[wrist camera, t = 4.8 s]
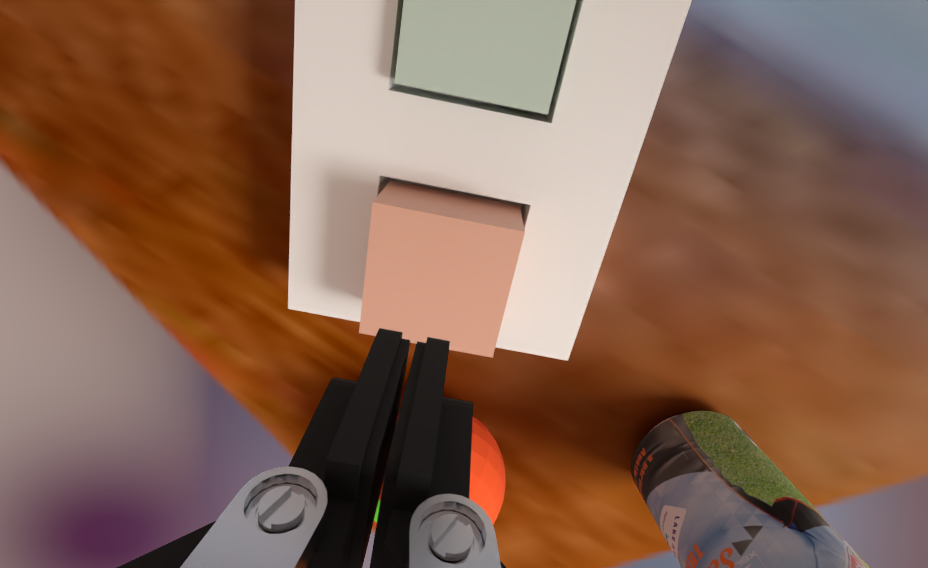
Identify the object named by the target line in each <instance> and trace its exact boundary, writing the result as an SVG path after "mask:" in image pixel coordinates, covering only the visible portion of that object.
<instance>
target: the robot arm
mask: <svg viewBox="0 0 928 568" xmlns="http://www.w3.org/2000/svg"><path fill="white" fill-rule="evenodd" d="M449 344H450V341H447V340H442V339H436V338H431V337H427V341H426V343H424V342H419V341H417V344H416V348H415V352H414V356H413V360H412V364H411V368H410V372H409V376H408V380H407V384H406V388H405V392H404V396H403V400H402V404H401V408H400V412H399V407H400V401H401V394H402V388H403V382H404V376H405V370H406V364H407V358H408V351H409V345H410V340H408V339H402V332H398V331H393V330H387V329H382V328H379V330H378V332H377V334H376V337H375V339H374V342H373V344H372V347H371V349H370V352H369V354H368V357H367V359H366V362H365V364H364V367H363V369H362V372H361V374H360V377H359V379H358V382H357V381H352V380H346V379H341V378H335V377H334V378H332V380H331V381H330V383H329V385H328V387H327V389H326V391H325V393H324V395H323V397H322V399H321V401H320V403H319V405H318V407H317V409H316V411H315V414H314V416H313V418H312V420H311V422H310V424H309V426H308V428H307V430H306V432H305V434H304V436H303V438H302V440H301V442H300V444H299V446H298V448H297V450H296V452H295V454H294V456H293V458H292V461H291V463H290V465H289V467H280V468H275V469H272V470H269V471H265V472H263V473H262V474H260V475H258V476H256V477H254V478H253V479H251V480H250V481H249V482H248V483H247V484H246V485H245V486H244V487H243V488H242V489H241V490H240V491H239V493H238V494H237V495H236V497H235V498H234V499H233V500H232V502H231V503H230V504H229V506H228V507H227V508H226V509H225V511H224V512H223V513H222V515H221V516H220V517H219V519H218V520H217V521H215V522H213V523H210V524H208V525H206V526H204V527H202V528H200V529H198V530H196V531H194V532H192V533H189V534H187V535H185V536H183V537H181V538H179V539H177V540H175V541H172V542H170V543H168V544H166V545H164V546H162V547H160V548H158V549H156V550H153V551H151V552H149V553H147V554H145V555H143V556H141V557H139V558H136V559H135V560H132V561H130V562H128V563H126V564H124V565H122V566H120V567H117V568H362V566H363V562H364V558H365V554H366V550H367V546H368V542H369V537H370V533H371V529H372V525H373V521H374V517H375V513H376V509H377V505H378V501H379V497H380V493H381V489H382V494H381V500H380V506H379V513H378V519H377V525H376V532H375V538H374V545H373V551H372V557H371V563H370V568H506V567H505V566H504V565H503V563H502V562H501V561H500V558H499V552H498V546H497V541H496V535H495V530H494V528H493V525H492V522H491V519H490V518H489V516H488V515H487V514H486V512H485V511H484V509H482V508H481V507H480V506H479V505H478V504H476V503H475V502H474V501H472V500H470V499H469V492H470V468H471V443H472V419H473V403H472V402H469V401H463V400H458V399H452V398H447V397H443V390H444V382H445V374H446V367H447V359H448V352H449ZM398 413H399V416H398ZM397 419H398V420H397ZM382 485H383V487H382Z"/></svg>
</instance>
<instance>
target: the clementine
mask: <svg viewBox="0 0 928 568" xmlns="http://www.w3.org/2000/svg"><path fill="white" fill-rule="evenodd" d="M398 416H399V415H398ZM397 420H398V419H397ZM505 485H506V479H505V467H504V462H503V457H502V454H501V452H500V449H499V447H498V444H497V442H496V441H495V439H494V438H493V436H492V434H491V433H490V432H489V430H488V429H487V428H486V427H485V426H484V424H483V423H482V422H480V421H479V420H478V419H476V418H475V417H473V419H472V443H471V468H470V492H469V499H470V500H472V501H474V502H475V503H476V504H478V505H479V506H480V507H481V508H482V509H484V511H485V512H486V514H487V515H488V516H489V518H490V519H491V522H492V525H493V524H494V522H495V520H496V518H497V516H498V514H499V512H500V509H501V506H502V503H503V500H504V493H505ZM382 487H383V485H382ZM381 494H382V489H381V493H380V497H379V501H378V505H377V509H376V513H375V517H374V521H373V525H374V526H375V528H376V525H377V519H378V513H379V506H380V500H381Z"/></svg>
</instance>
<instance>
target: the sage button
mask: <svg viewBox="0 0 928 568" xmlns="http://www.w3.org/2000/svg"><path fill="white" fill-rule="evenodd" d="M575 4H576V0H404V1H403V10H402V19H401V28H400V37H399V46H398V55H397V64H396V73H395V82H394V83H395V84H400V85H405V86H410V87H415V88H420V89H425V90H429V91H434V92H439V93H444V94H449V95H454V96H459V97H464V98H469V99H474V100H478V101H483V102H488V103H493V104H498V105H503V106H508V107H513V108H518V109H523V110H527V111H532V112H537V113H542V114H547V115H548V112H549V108H550V104H551V100H552V96H553V92H554V88H555V84H556V80H557V76H558V72H559V68H560V64H561V60H562V56H563V52H564V48H565V44H566V40H567V36H568V32H569V28H570V24H571V20H572V16H573V12H574V8H575Z"/></svg>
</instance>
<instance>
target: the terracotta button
mask: <svg viewBox="0 0 928 568" xmlns="http://www.w3.org/2000/svg"><path fill="white" fill-rule="evenodd" d="M524 234H525V230H524V225H523V220H522V215H521V210H520V206H517V205H512V204H507V203H502V202H497V201H492V200H487V199H482V198H477V197H472V196H466V195H461V194H456V193H451V192H446V191H441V190H436V189H431V188H426V187H421V186H416V185H411V184H406V183H400V182H395V181H390V182H389V183H388V184H387V185H386V186H385V188H384V189H383V190H382V191H381V193H380V194H379V195H378V196H377V197H376V199H375V200H374V201H373V202H372V211H371V221H370V231H369V240H368V250H367V260H366V270H365V280H364V289H363V299H362V309H361V319H360V328H359V333H362V334H367V335H373V336H376V334H377V332H378V330H379V328H382V329H387V330H393V331H398V332H402V339H408V340H410V342H411V343H416V344H417V341H419V342H424V343H426V341H427V337H431V338H436V339H442V340H447V341H450V344H449V350H454V351H459V352H465V353H470V354H476V355H481V356H486V357H492V358H493V354H494V350H495V346H496V343H497V339H498V335H499V331H500V327H501V323H502V319H503V315H504V312H505V308H506V304H507V300H508V296H509V292H510V288H511V284H512V280H513V277H514V273H515V269H516V265H517V261H518V257H519V253H520V249H521V245H522V242H523V238H524Z"/></svg>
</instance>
